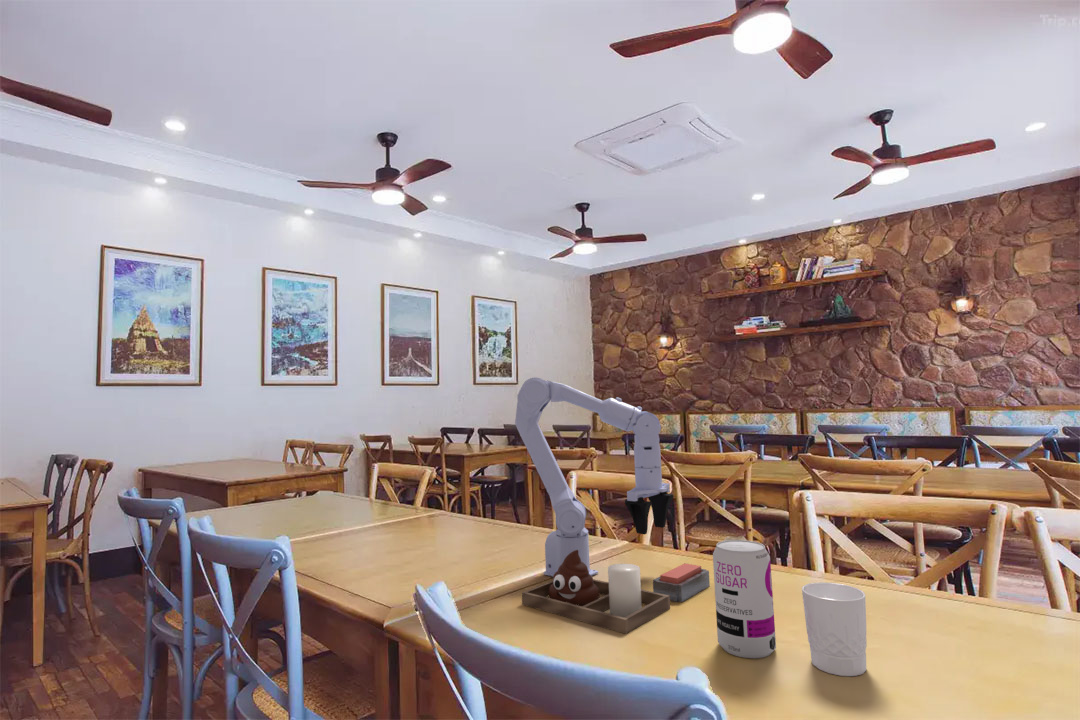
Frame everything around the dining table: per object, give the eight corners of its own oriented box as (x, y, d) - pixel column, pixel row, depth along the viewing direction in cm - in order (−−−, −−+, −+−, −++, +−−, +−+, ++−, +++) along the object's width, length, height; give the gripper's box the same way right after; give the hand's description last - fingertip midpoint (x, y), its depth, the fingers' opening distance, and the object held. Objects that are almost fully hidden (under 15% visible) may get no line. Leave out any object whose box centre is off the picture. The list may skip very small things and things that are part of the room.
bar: (660, 591, 109) (660, 575, 109) (685, 578, 116) (684, 563, 117) (678, 594, 107) (677, 578, 107) (702, 581, 114) (701, 566, 114)
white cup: (795, 655, 82) (790, 584, 83) (847, 651, 83) (842, 580, 83) (827, 681, 74) (822, 602, 75) (884, 676, 75) (878, 598, 76)
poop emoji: (605, 595, 111) (603, 546, 111) (590, 610, 103) (588, 557, 104) (558, 590, 115) (556, 543, 116) (540, 604, 107) (539, 553, 108)
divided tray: (522, 604, 107) (521, 592, 107) (570, 584, 118) (569, 574, 118) (626, 633, 92) (625, 619, 92) (670, 608, 102) (669, 595, 102)
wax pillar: (603, 615, 100) (601, 569, 101) (621, 606, 104) (619, 561, 105) (630, 623, 96) (628, 574, 97) (648, 613, 100) (645, 566, 101)
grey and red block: (652, 596, 109) (651, 580, 109) (683, 580, 118) (682, 565, 118) (681, 602, 105) (680, 586, 105) (710, 585, 114) (709, 570, 114)
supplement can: (774, 639, 87) (767, 540, 89) (778, 663, 80) (770, 553, 81) (719, 634, 90) (713, 538, 91) (717, 657, 82) (711, 551, 83)
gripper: (646, 471, 116) (649, 539, 115) (680, 464, 127) (683, 526, 126) (617, 469, 121) (620, 534, 120) (652, 463, 132) (655, 522, 131)
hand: (651, 530), depth 123 cm, fingers open, 7 cm apart
